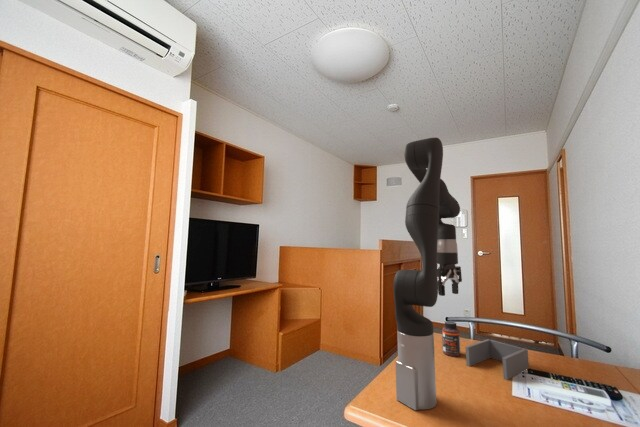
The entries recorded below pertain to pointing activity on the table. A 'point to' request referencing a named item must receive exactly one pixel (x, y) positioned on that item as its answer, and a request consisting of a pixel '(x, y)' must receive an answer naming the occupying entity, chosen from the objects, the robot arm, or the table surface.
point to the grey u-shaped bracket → (499, 356)
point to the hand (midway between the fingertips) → (448, 294)
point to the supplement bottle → (451, 339)
